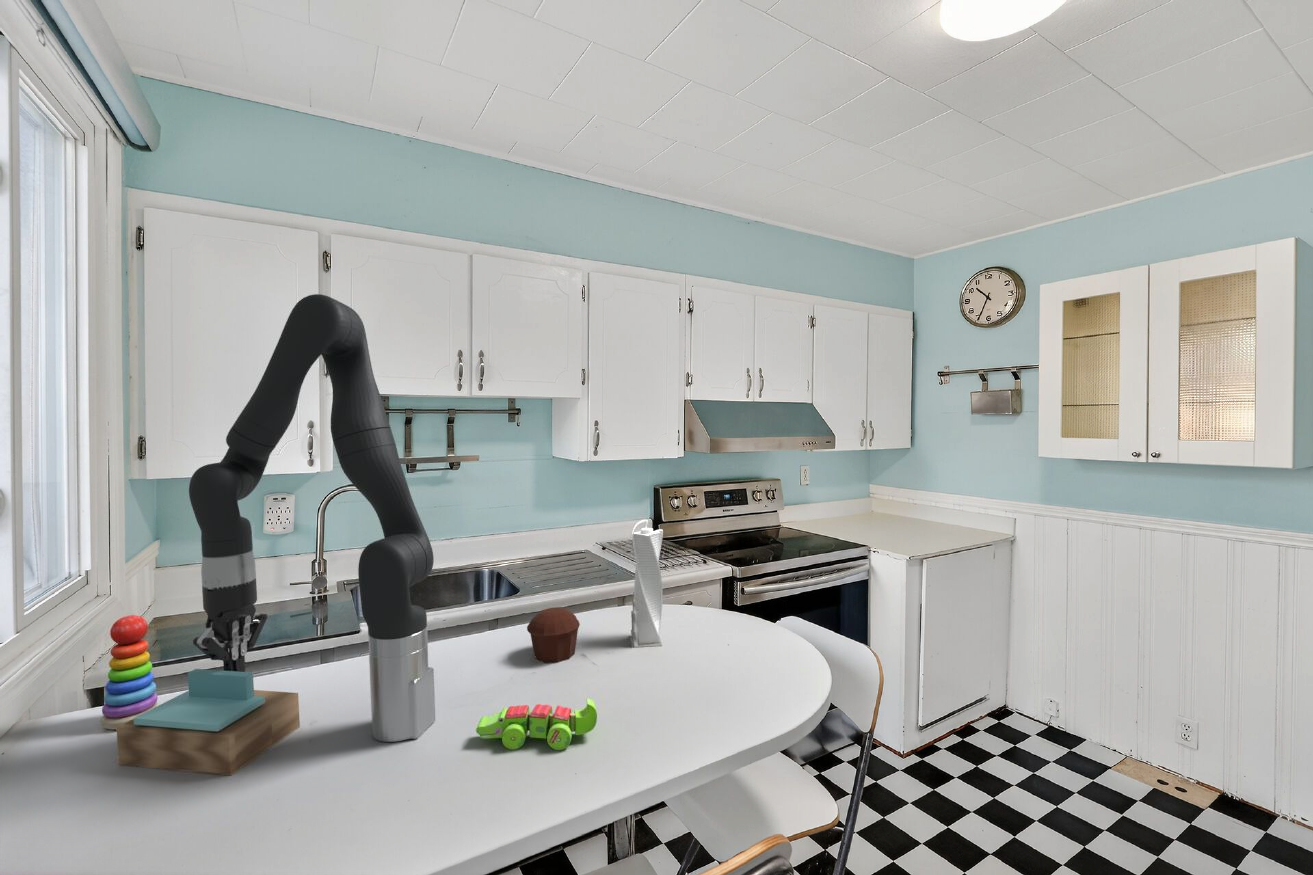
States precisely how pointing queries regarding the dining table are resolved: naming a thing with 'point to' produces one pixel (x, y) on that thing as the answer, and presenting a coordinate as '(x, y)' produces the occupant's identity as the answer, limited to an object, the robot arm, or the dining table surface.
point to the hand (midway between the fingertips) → (235, 678)
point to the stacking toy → (128, 674)
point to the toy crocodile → (538, 724)
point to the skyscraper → (646, 588)
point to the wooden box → (211, 739)
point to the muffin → (553, 635)
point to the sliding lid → (206, 702)
